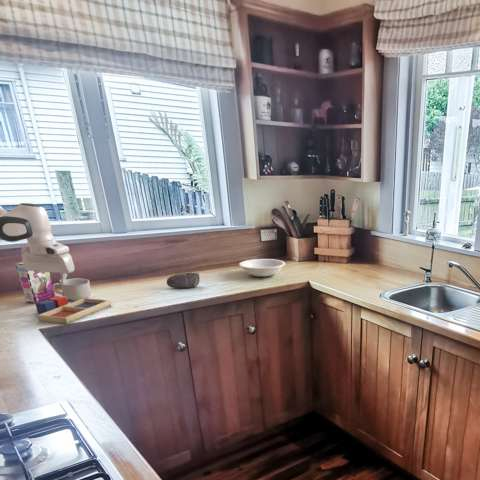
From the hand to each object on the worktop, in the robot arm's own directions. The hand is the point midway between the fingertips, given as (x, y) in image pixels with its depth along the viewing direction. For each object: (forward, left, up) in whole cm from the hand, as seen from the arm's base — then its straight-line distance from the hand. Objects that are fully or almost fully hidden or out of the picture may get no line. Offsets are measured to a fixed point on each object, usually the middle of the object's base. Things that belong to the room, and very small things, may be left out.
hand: (53, 282), depth 186 cm
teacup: (-4, +13, -11) cm, 17 cm away
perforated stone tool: (+30, +43, -11) cm, 53 cm away
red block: (0, 0, -11) cm, 11 cm away
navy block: (0, -6, -11) cm, 12 cm away
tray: (+11, -4, -11) cm, 16 cm away
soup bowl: (+56, +77, -11) cm, 96 cm away
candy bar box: (-17, +9, -11) cm, 22 cm away
